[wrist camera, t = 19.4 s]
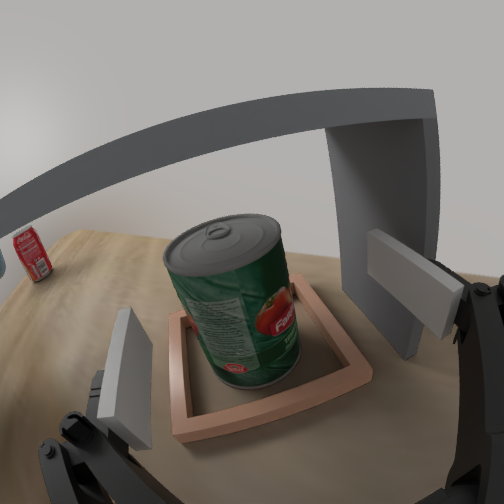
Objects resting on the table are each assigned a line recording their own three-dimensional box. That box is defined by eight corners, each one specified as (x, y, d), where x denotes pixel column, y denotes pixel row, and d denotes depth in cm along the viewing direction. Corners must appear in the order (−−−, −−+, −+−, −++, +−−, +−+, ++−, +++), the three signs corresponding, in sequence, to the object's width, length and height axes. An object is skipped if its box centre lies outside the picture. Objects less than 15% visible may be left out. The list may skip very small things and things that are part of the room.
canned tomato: (316, 368, 20) (300, 242, 15) (219, 402, 19) (159, 287, 14) (283, 311, 27) (260, 205, 22) (206, 337, 26) (164, 234, 21)
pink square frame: (181, 443, 16) (172, 435, 15) (174, 324, 29) (169, 313, 28) (371, 380, 18) (373, 369, 17) (301, 284, 30) (300, 272, 30)
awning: (147, 446, 16) (-19, 212, 7) (150, 343, 26) (70, 168, 18) (416, 353, 18) (433, 89, 10) (347, 280, 29) (326, 98, 20)
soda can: (41, 271, 55) (21, 228, 50) (58, 265, 55) (38, 220, 50) (27, 286, 49) (5, 241, 44) (44, 281, 49) (21, 233, 43)
